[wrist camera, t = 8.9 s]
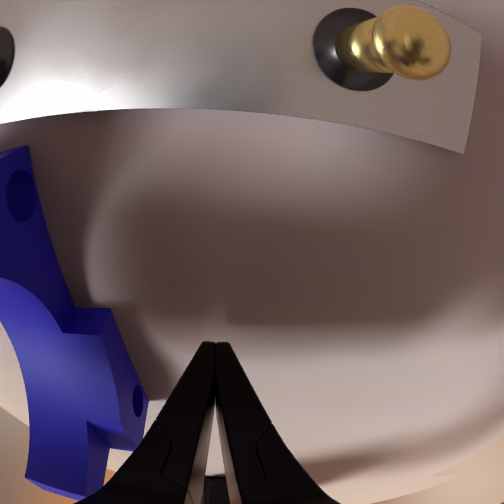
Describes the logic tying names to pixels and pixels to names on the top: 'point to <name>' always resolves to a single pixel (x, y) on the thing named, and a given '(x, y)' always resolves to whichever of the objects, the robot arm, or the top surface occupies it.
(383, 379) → the top surface
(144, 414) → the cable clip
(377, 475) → the top surface
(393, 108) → the steel strip
